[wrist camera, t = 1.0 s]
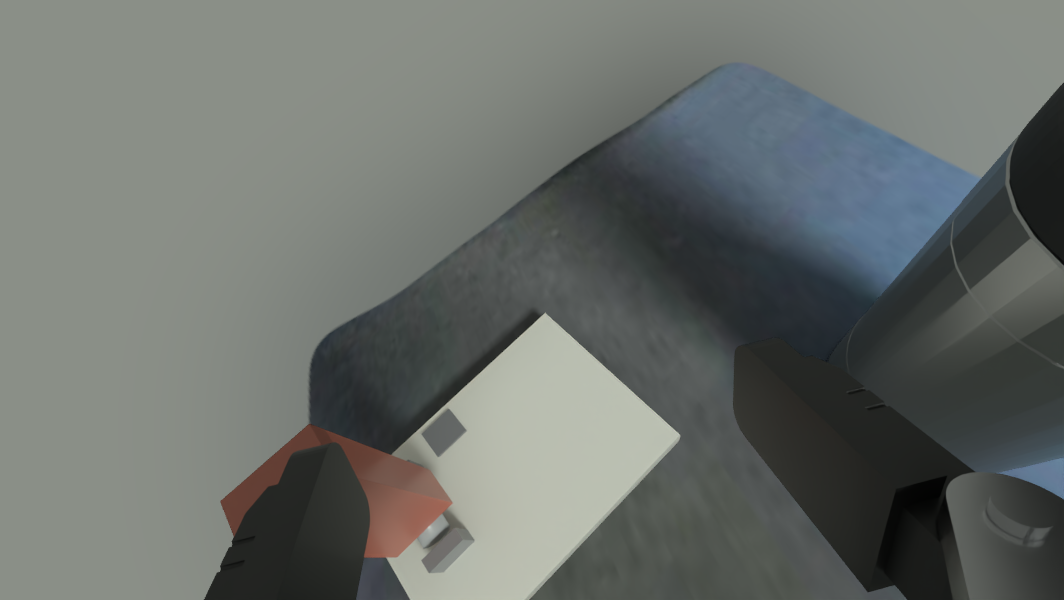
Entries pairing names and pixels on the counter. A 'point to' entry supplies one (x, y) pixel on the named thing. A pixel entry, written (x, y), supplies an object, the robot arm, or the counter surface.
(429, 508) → the lever
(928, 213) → the counter surface
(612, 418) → the breaker base
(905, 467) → the robot arm
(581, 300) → the counter surface
